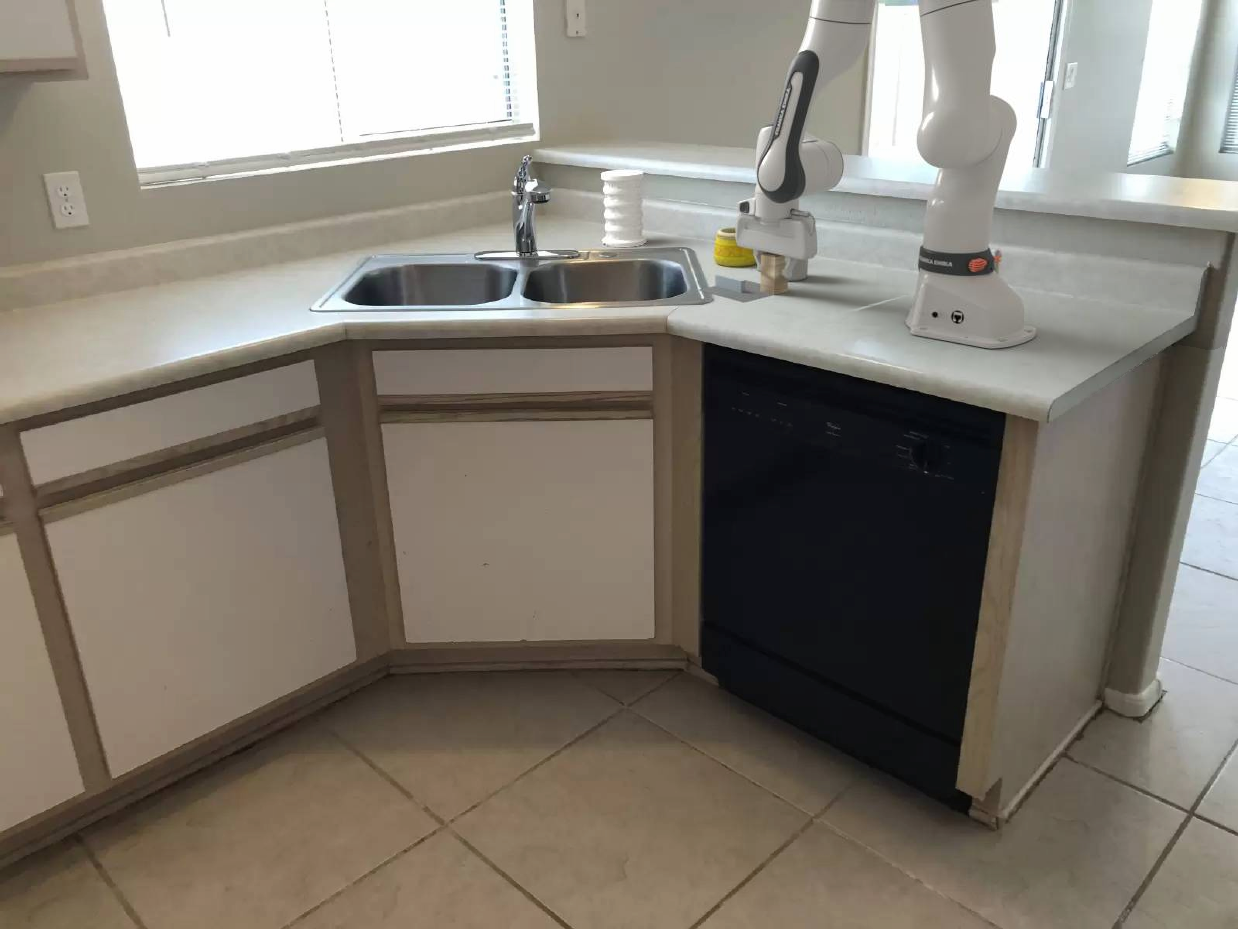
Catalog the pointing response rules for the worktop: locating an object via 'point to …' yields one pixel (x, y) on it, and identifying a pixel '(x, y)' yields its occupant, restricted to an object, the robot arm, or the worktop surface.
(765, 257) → the block
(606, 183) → the decorative container
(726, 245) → the yellow pot
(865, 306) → the worktop surface
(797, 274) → the can
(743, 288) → the strip
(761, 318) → the worktop surface
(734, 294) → the mat
